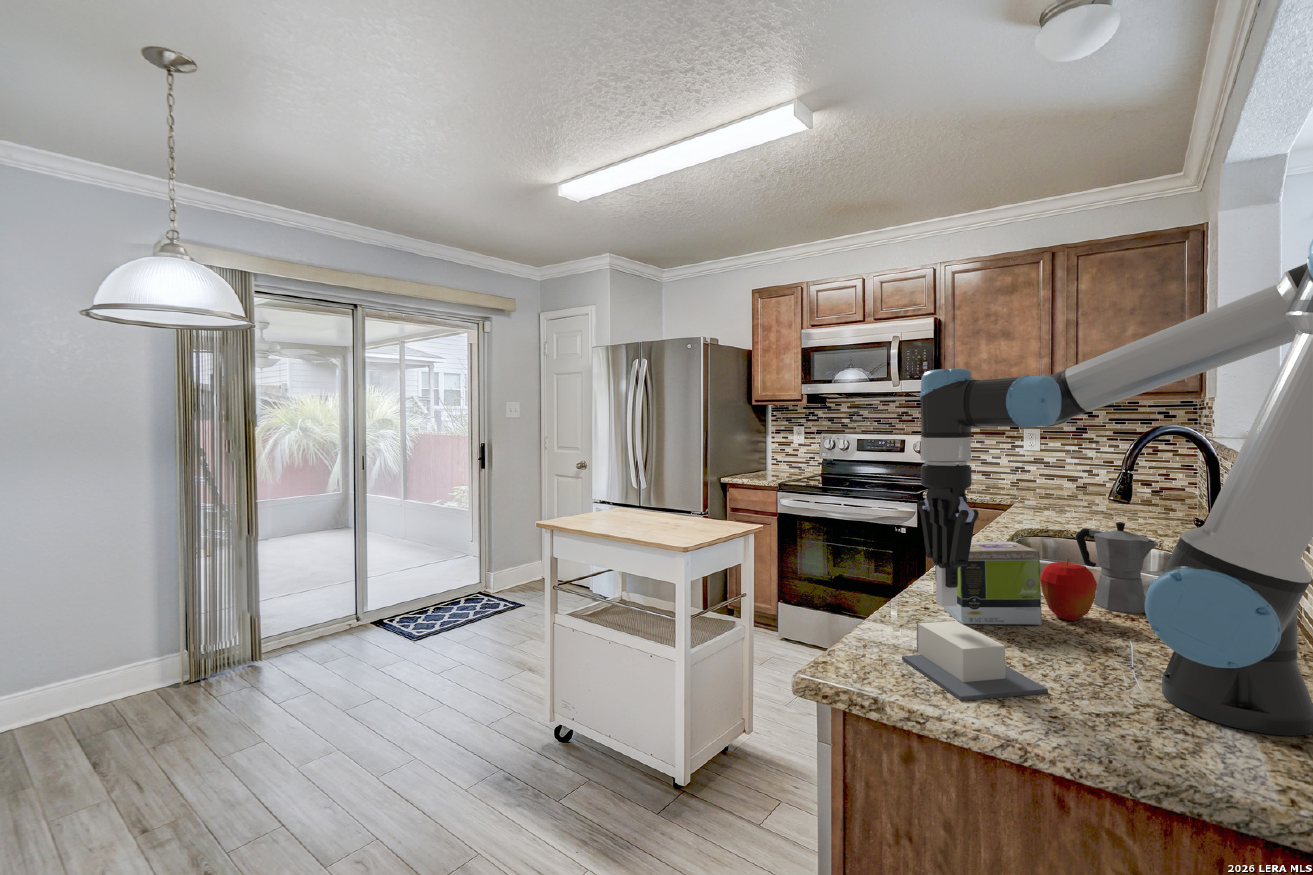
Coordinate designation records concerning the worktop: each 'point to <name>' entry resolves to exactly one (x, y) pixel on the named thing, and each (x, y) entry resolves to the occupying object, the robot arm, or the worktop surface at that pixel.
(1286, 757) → the worktop surface
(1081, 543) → the coffeepot
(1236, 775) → the worktop surface
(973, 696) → the mat
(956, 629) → the cream block
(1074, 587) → the apple
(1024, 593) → the tea box
